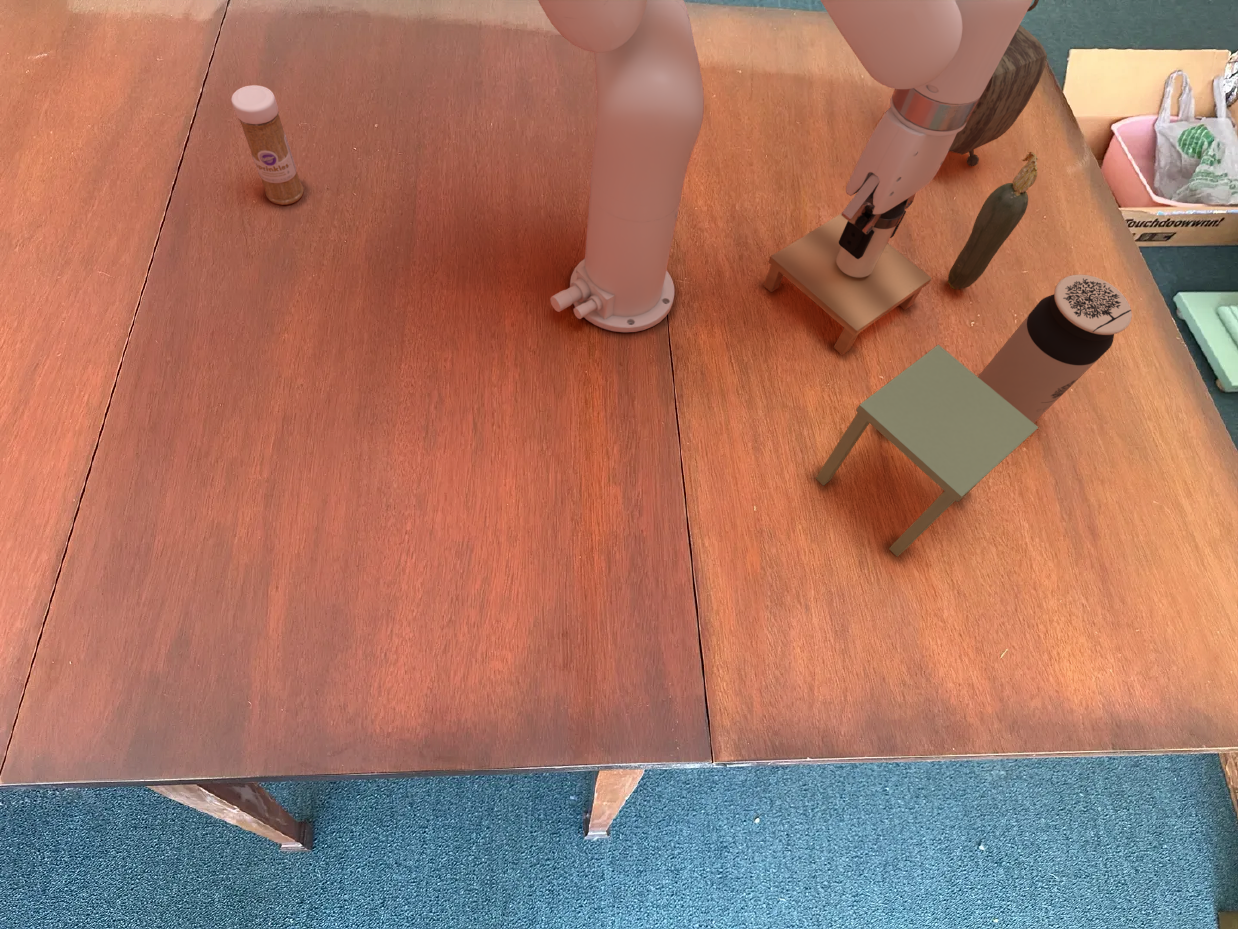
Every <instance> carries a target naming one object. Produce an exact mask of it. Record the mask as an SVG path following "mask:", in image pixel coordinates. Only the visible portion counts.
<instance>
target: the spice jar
mask: <svg viewBox="0 0 1238 929" xmlns="http://www.w3.org/2000/svg"><path fill="white" fill-rule="evenodd" d="M872 198H873V197H872ZM905 211H906V209H905V206H904V203H903V202H901V203H900V204H898V205H896V206H895V207H893V208H892V209H890V210H888V211H886V212H885V213H882V214H881V216H880V217H879V219H878V221H877V222H876V224H875V225H874V227H873V229H872V230H873V231H874V234H873V236H872V238H871V240H870V242H869V244H868V246H867V248H866V250H865V252H864V254H863V256H862V257H861V258H860V259H856V258H855V257H854V256H852V255H851V254H850V253H849V252H848V251H846V250H845V249H844V248H843V247H841V248H840V250H839V252H838V254H837V257H836V263H837V265H838V267H839V268H840V270H841V271H842V272H844V273H845V274H847V275H849V276H852V277H858V278H860V277H866V276H868V275H870V274H871V273H872V272H873V270H874V268H875V266H876V264H877V262H878V260H879V259H880V257H881V255H882V253H883V251H884V249H885V247H886V245H887V243H889V241H890V239H891V238H890V237H891V235H892V233H893V231H894V229H895V228H896V226H897V224H898V223H899V222H900V220H901V218H902V216H903V214H904V212H905ZM861 213H862V214H863V215H864V216H865V217H866V218H867V219H869V218H870V216H871V214H872V213H873V211H871V210H870V209H869V208H868V207H866V206H865V208H864V209H863V210H862V212H861Z"/></svg>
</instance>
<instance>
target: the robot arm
mask: <svg viewBox="0 0 1238 929" xmlns="http://www.w3.org/2000/svg"><path fill="white" fill-rule="evenodd" d="M537 2H538V3H539V6H540V7H541V9H542V11H543V12H544V14H545V15H546V17H547V19H548V20H549V22H550V23H551V25H552V26H553V27H554V28H555V29H556V31H557V32H558V33H559V34H560V35H561V36H562V37H563V38H564V39H566V41H568V42H569V43H570V44H571V45H574V46H575V47H577V48H579V49H581V50H583V51H586V52H591V53H593V54H594V72H595V86H596V126H595V136H594V142H593V149H592V157H591V158H592V159H591V167H590V182H589V189H590V190H589V202H588V212H587V213H588V214H587V226H586V238H585V240H586V241H585V251H584V252H585V253H584V254H585V255H584V258H583V259H582V260H581V261H579V263H578V264H577V265H576V266H575V268H574V269H573V271H572V273H571V276H570V280H569V287H568V288H566V289H563V290H560V291H559V292H557V293H555V294H554V295H552V296H550V300H549V301H550V304H551V306H552V308H553V309H554V310H555V311H556V312H558V313H560V312H561V311H564V310H565V309H567V308H569V307H571V306H572V305H573V306H574V307H573V313H574V316H575V317H576V319H577V320H581V319H583V318H584V319H585V320H586V321H588V322H589V323H591V324H593V325H594V326H597V327H599V328H601V329H604V330H606V331H611V332H617V333H636V332H640V331H645V330H647V329H650V328H652V327H654V326H656V325H658V324H659V323H661V322H662V321H663V320H664V319H665V318H666V317H667V315H668V314H669V313H670V311H671V310H672V306H673V304H674V298H675V284H674V281H673V278H672V277H671V275H670V273H669V271H668V270H667V269H668V264H669V259H670V255H671V250H672V245H673V239H674V236H675V231H676V225H677V222H678V221H677V220H678V215H679V210H680V205H681V199H682V193H683V190H684V185H685V181H686V180H685V179H686V176H687V172H688V167H689V163H690V161H691V157H692V154H693V151H694V148H695V146H696V144H697V141H698V138H699V136H700V132H701V130H702V125H703V122H704V113H705V93H704V92H705V91H704V83H703V77H702V71H701V66H700V65H701V64H700V60H699V56H698V55H699V54H698V51H697V47H696V44H695V38H694V34H693V33H694V32H693V28H692V23H691V18H690V15H689V11H688V8H687V6H686V2H685V0H537ZM820 2H821V4H822V5H823V7H824V8H825V9H824V10H826V12H827V13H828V15H829V17H830V18H831V21H832V22H833V23H834V25H835V27H836V28H837V29H838V31H839V33H840V34H841V36H842V37H843V39H844V40H845V41H846V43H847V44H848V46H849V48H850V49H851V50H852V52H853V53H854V55H855V56H856V58H857V59H858V61H859V62H860V64H861V65H862V67H863V68H864V69H865V71H866V72H867V74H869V76H870V77H871V78H872V79H873V80H875V81H876V82H877V83H878V84H880V85H882V86H885V87H887V88H890V89H894V90H893V92H892V94H891V97H890V100H889V108H888V109H887V110H886V111H885V112H884V114H883V115H882V117H881V119H880V120H879V122H878V123H877V125H876V126H875V128H874V130H873V131H872V133H871V135H870V137H869V139H868V140H867V142H866V143H865V146H864V149H863V150H862V152H861V154H860V156H859V158H858V159H857V162H856V163H855V167H853V168H854V169H853V170H852V173H851V175H850V177H849V179H848V181H847V183H846V186H845V194H846V195H849V196H850V197H852V196H853V198H852V199H851V200H850V201H849V202H848V204H847V205H846V206H845V208H844V209H843V210H842V212H841V213H842V214H841V213H840V214H841V215H842V216H843V217H844V218H845V219H847V220H848V222H847V224H846V226H845V228H844V231H843V233H842V235H841V237H840V240H839V245H840V246H841V247H843V248H844V249H845V250H846V251H848V252H849V253H850V254H851V255H852V256H854V257H855V258H856V259H860V258H861V257H862V256H863V254H864V252H865V250H866V248H867V246H868V244H869V242H870V240H871V238H872V236H873V234H874V231H873V230H872V229H873V227H874V225H875V224H876V222H877V221H878V219H879V217H880V216H881V214H882V213H885V212H886V211H888V210H890V209H892V208H893V207H895V206H896V205H898V204H900V203H901V202H903V203H904V206H905V212H904V214H903V216H902V218H901V220H900V222H899V223H898V224H897V226H896V228H895V229H894V231H893V233H892V235H891V237H890V239H892V238H893V237H894V236H895V234H896V232H897V230H898V228H899V227H900V225H901V223H902V221H903V219H904V217H905V215H906V214H907V209H909V207H911V206H912V204H913V203H914V200H915V197H916V194H917V193H919V192H920V191H921V190H923V189H924V188H926V187H927V186H928V185H929V184H930V183H931V182H932V181H933V179H934V178H935V176H937V173H938V172H939V170H940V168H941V166H942V164H943V163H944V161H945V159H946V157H947V155H948V153H949V152H950V151H949V149H950V147H951V145H952V143H953V141H954V139H955V136H956V134H957V133H958V132H959V131H961V130H962V129H963V128H964V127H965V125H966V123H967V121H968V119H969V118H970V116H971V114H972V112H973V110H974V108H975V107H976V105H977V103H978V101H979V99H980V97H981V95H982V93H983V92H984V90H985V88H986V86H987V84H988V82H989V81H990V79H991V77H992V75H993V73H994V71H995V69H996V68H997V66H998V64H999V62H1000V60H1001V58H1002V56H1003V55H1004V53H1005V51H1006V49H1007V47H1008V45H1009V44H1010V42H1011V40H1012V38H1013V36H1014V34H1015V32H1016V31H1017V29H1018V27H1019V25H1021V23H1022V21H1023V19H1024V18H1025V16H1026V14H1027V10H1028V8H1029V7H1030V6H1032V4H1033V2H1034V0H820ZM872 197H873V198H872ZM865 206H866V207H868V208H869V209H870V210H871V211H873V213H872V214H871V216H870V218H869V219H867V218H866V217H865V216H864V215H863V214H862V213H861V212H862V210H863V209H864V208H865Z"/></svg>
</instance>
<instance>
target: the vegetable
mask: <svg viewBox="0 0 1238 929" xmlns="http://www.w3.org/2000/svg"><path fill="white" fill-rule="evenodd" d="M1038 160H1039V159H1038V156H1037V154H1036V153H1035V152H1033V151H1027V154H1026V155H1025V157H1024V158H1023V159H1021V161H1022V162H1026V164H1024V165H1023V166H1022V167H1021V168H1020V170H1019V171H1018V173H1017V174H1016V175H1015V177H1014V178H1013V180H1012V182H1007V183H1004V184H1001V185H1000V186H998V187H997V188H995V189H994V190H993V191H991V193H990V194H989V195H988V197H986V199H985V201H984V202H983V204H982V206H981V207H980V210H979V212H978V214H977V216H976V219H975V220H974V223H973V226H972V229H971V233H970V235H969V237H968V239H967V241H966V243H965V244H964V246H963V247H962V250H961V251H960V252H959V254H958V256H957V257H956V259H955V261H954V262H953V264H952V266H951V268H950V269H949V272H948V277H947V283H948V284H949V287H950V288H951V289H953V290H960V289H961V290H962V289H967V288H969V287H971V286H972V285H974V283H975V282H976V281H978V279H979V278H980V277H981V276H982V275H983V274H984V272H985V271H986V269H987V267H988V266H989V265H990V263H991V261H992V260H993V258H994V257H995V255H996V254H997V253H998V251H999V250H1000V248H1001V247H1002V246H1003V244H1004V243H1005V242H1006V240H1008V238H1009V237H1010V235H1011V234H1012V233H1013V231H1014V230H1015V229H1016V227H1017V226H1018V224H1020V222H1021V220H1022V219H1023V217H1024V216H1025V214H1026V211H1027V209H1028V205H1029V195H1028V190H1029V188H1031V187H1032V186H1033V185H1034V184H1035V182H1036V181H1037V178H1038V169H1039V168H1038V166H1037V165H1038V162H1037V161H1038Z"/></svg>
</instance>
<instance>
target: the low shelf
mask: <svg viewBox="0 0 1238 929" xmlns="http://www.w3.org/2000/svg"><path fill="white" fill-rule="evenodd" d="M841 214H842V212H841V213H839V214H837V215H836V216H834V217H832V218H831V219H829V220H828V221H826V222H824V223H822V224H821V225H818V227H816V228H814V229H813V230H811V231H809V232H808V233H806V234H805V235H803V236H801V237H800V238H798V239H796V240H795V241H793V242H792V243H790V244H788V245H787V246H785V247H783V248H782V249H780V250H778V251H777V252H775V253H773V254H772V255H770V256H769V259H768V264H770V267H769V269H768V272H767V275H766V277H765V281H764V283H763V287H764V288H765V289H766V290H768V292H770V293H772V292H774V291H776V290H777V289H779V287H780V285H781V282H782V280H783V277H785V278H786V279H787V280H788V281H789V282H790V283H792V284H793V285H794V286H795V287H796V288H797V289H798V290H800V291H801V292H802V293H803V294H804V295H805V296H807V298H809V299H810V300H811V301H813V303H815V304H816V305H817V306H818V307H819V308H820V309H822V310H823V311H824V312H825V313H826V314H828V315H829V316H830V317H831V318H832V319H834V321H836V322H837V323H838V324H839V325H840V326H841V327H842V328H843V329H842V331H841V332H840V335H839V337H838V338H837V340H836V342H835V344H834V346H833V349H834V350H835V351H837V352H838V353H839V354H840V355H841V356H843V355H845V354H846V353H847V352H849V351H850V350H851V348H852V346H853V344H854V343H855V341H856V340H857V337H858V336H859V334H860V333H861V332H862V331H864V330H865V329H868V328H869V327H870V326H871V325H873V324H874V323H875V322H876V321H877V322H878V320H879V319H882V317H884V316H885V315H887V314H888V313H890V312H891V311H892V310H894V309H895V308H896V307H898V306H899V307H900V308H902V309H903V310H904V311H906V310H907V309H909V308H910V307H912V305H913V304H914V302H915V301H916V299H917V297H919V294H920V293H921V291H922V290H923V288H925V287H926V286H928V285H929V284H930V282H931V281H932V279H933V277H932V276H931V275H929V274H928V273H927V272H926V271H925V270H923V269H922V268H920V267H919V266H918V265H917V264H915V263H914V262H913V261H912V260H910V258H908V257H906V255H904V254H903V253H902V252H901V251H899V250H897V248H895V247H894V246H893V245H891V243H889V242H888V243H887V245H886V247H885V249H884V251H883V253H882V255H881V257H880V259H879V260H878V262H877V264H876V266H875V268H874V270H873V272H872V273H871V274H870V275H868V276H866V277H860V278H858V277H852V276H849V275H847V274H845V273H844V272H842V271H841V270H840V268H839V267H838V265H837V263H836V257H837V254H838V252H839V250H840V248H841V246H840V245H839V240H840V237H841V235H842V233H843V231H844V228H845V226H846V224H847V222H848V220H847V219H845V218H844V217H843V216H842V215H841Z"/></svg>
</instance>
